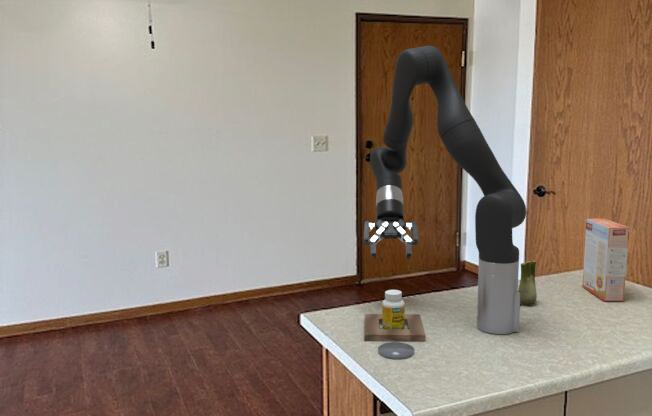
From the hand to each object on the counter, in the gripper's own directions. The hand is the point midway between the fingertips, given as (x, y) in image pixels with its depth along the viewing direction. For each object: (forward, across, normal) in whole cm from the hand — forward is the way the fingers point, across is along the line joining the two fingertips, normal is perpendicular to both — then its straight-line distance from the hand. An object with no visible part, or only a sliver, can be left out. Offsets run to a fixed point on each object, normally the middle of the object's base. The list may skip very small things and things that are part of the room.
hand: (391, 256), depth 149 cm
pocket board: (+19, 0, +2) cm, 19 cm away
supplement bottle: (+19, 0, +3) cm, 19 cm away
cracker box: (-1, +61, +23) cm, 65 cm away
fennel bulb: (+5, +37, +17) cm, 41 cm away
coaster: (+28, 0, -7) cm, 29 cm away
